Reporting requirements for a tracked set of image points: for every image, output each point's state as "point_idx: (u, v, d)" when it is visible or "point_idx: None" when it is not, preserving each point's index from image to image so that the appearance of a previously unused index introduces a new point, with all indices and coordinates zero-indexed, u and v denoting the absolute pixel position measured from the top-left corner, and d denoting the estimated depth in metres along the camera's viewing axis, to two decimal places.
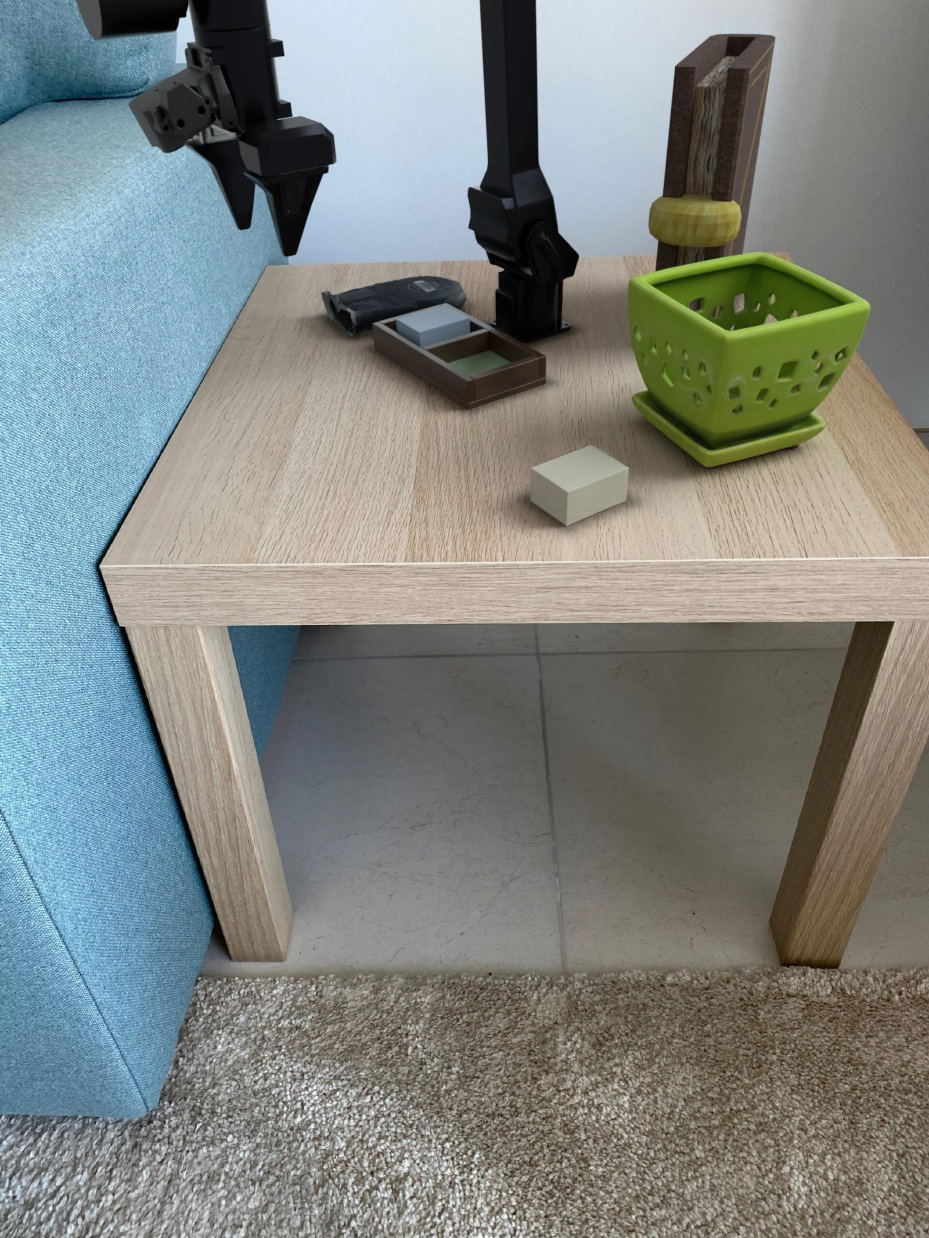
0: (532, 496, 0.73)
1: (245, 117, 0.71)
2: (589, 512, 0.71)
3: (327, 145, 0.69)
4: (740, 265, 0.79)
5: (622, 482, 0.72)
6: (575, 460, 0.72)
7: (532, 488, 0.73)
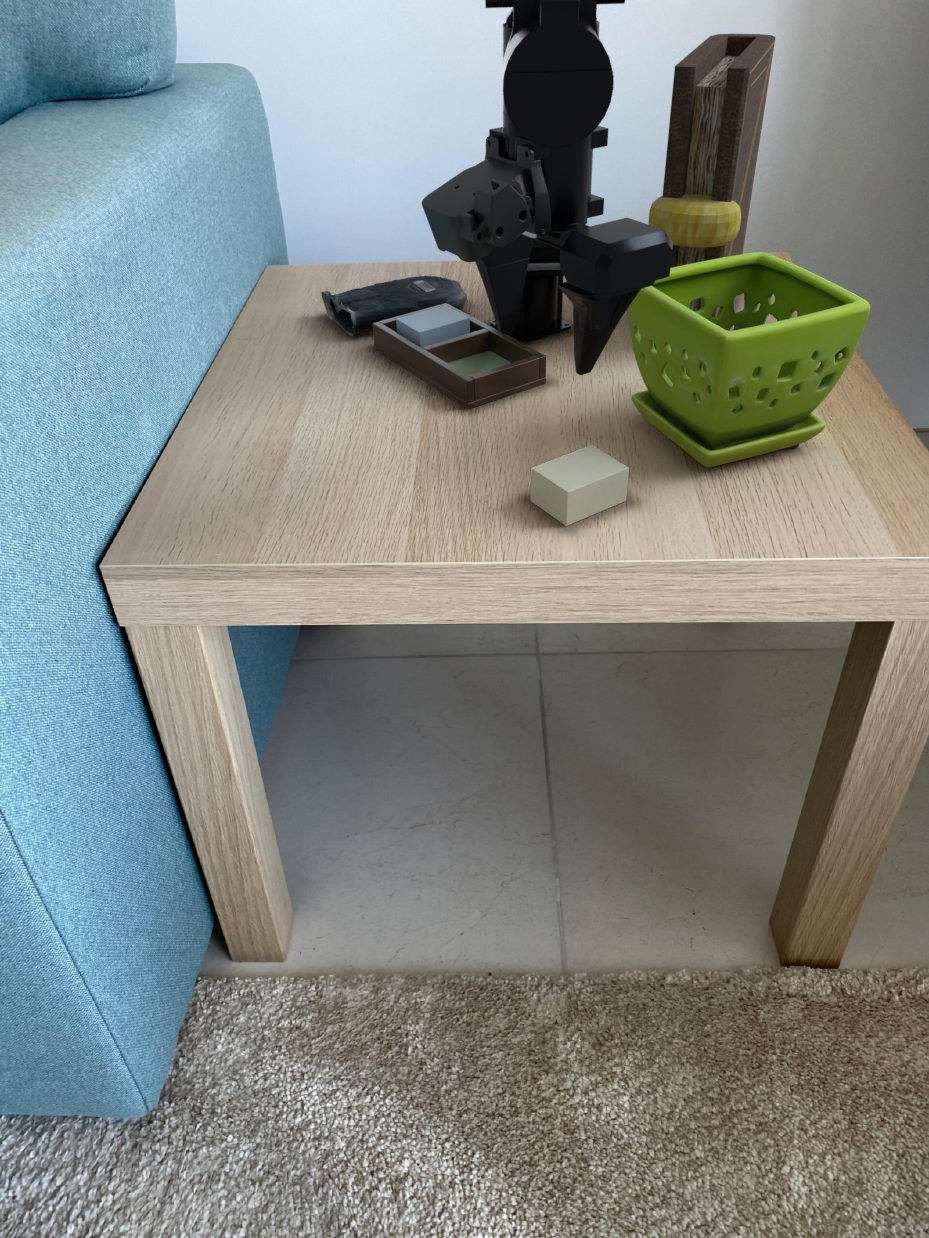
0: (532, 496, 0.73)
1: (557, 218, 0.59)
2: (589, 512, 0.71)
3: (667, 256, 0.57)
4: (740, 265, 0.79)
5: (622, 482, 0.72)
6: (575, 460, 0.72)
7: (532, 488, 0.73)
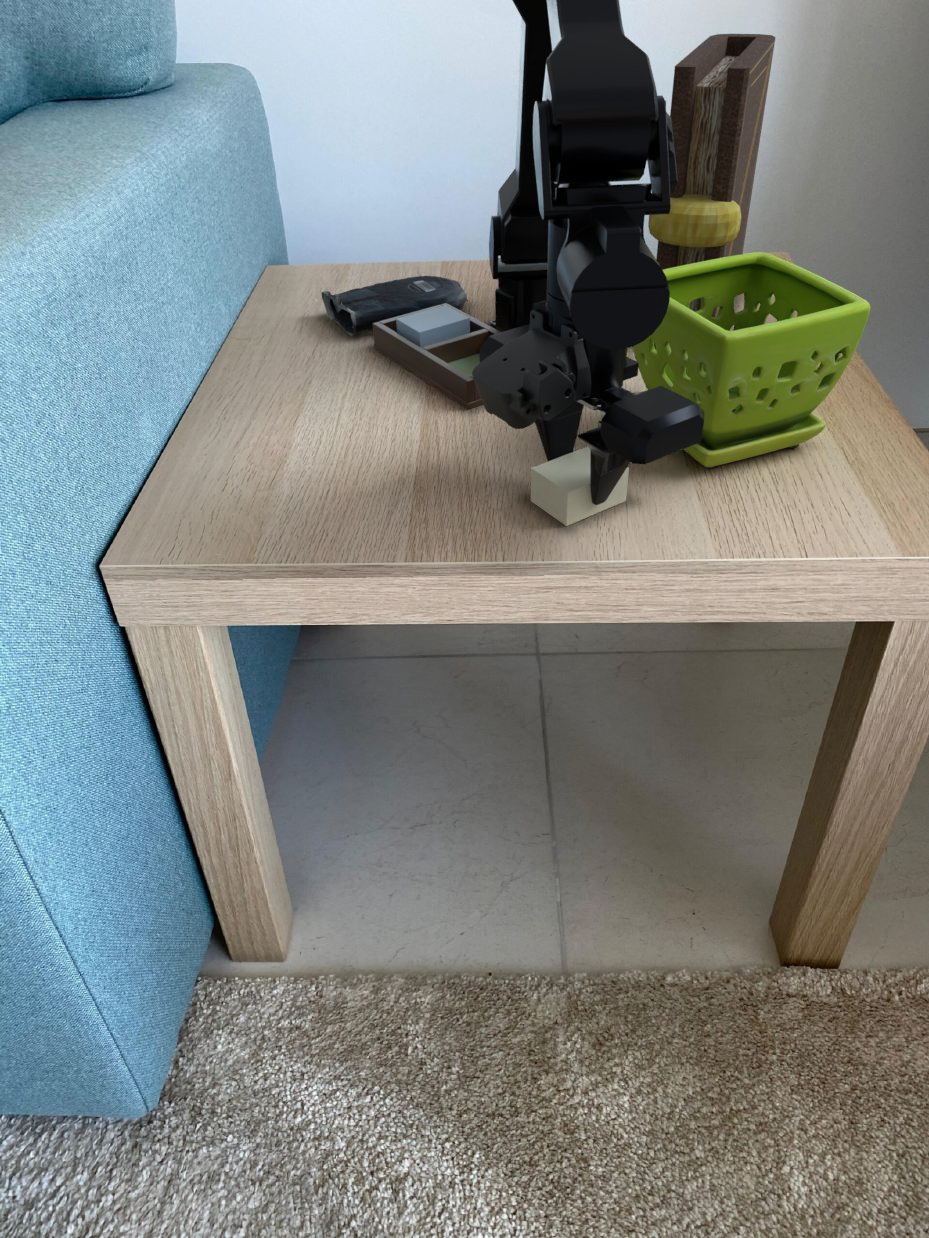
0: (532, 496, 0.73)
1: (596, 385, 0.64)
2: (589, 512, 0.71)
3: (699, 425, 0.62)
4: (740, 265, 0.79)
5: (622, 482, 0.72)
6: (575, 460, 0.72)
7: (532, 488, 0.73)
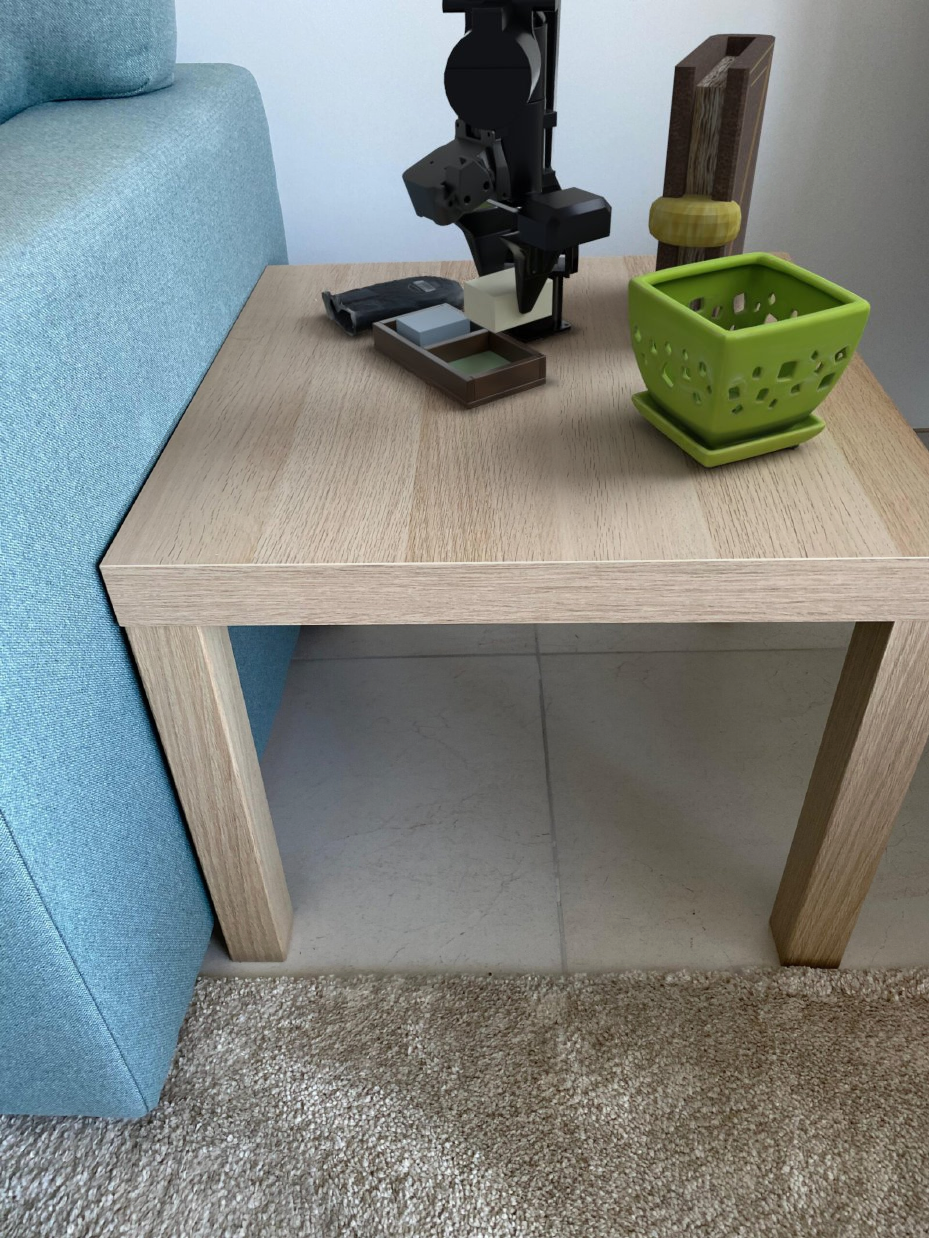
0: (465, 311, 0.79)
1: (516, 188, 0.71)
2: (516, 321, 0.78)
3: (607, 218, 0.69)
4: (740, 265, 0.79)
5: (547, 294, 0.78)
6: (504, 276, 0.79)
7: (465, 302, 0.79)
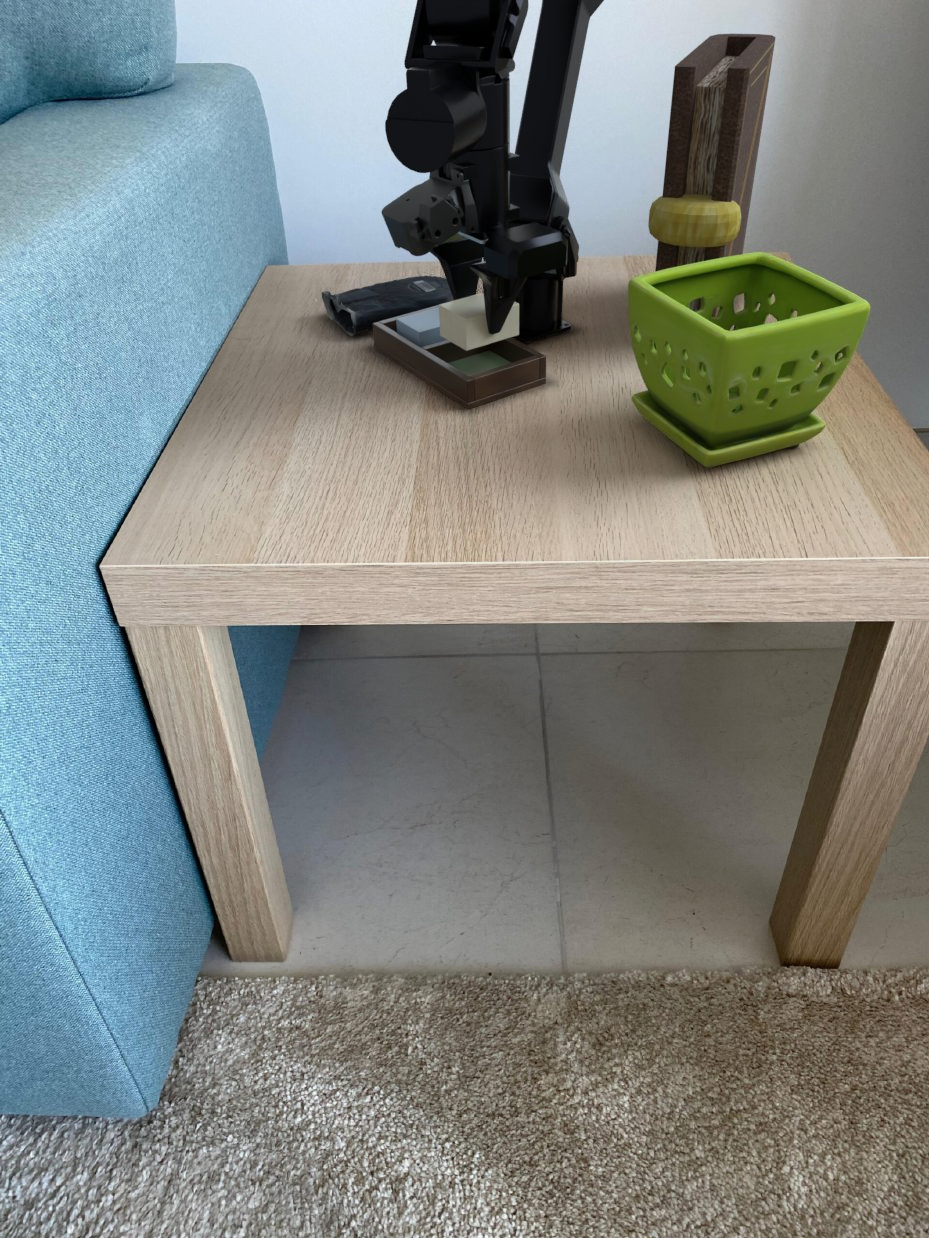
0: (441, 331, 0.88)
1: (483, 222, 0.79)
2: (486, 340, 0.86)
3: (563, 251, 0.77)
4: (740, 265, 0.79)
5: (514, 316, 0.87)
6: (476, 299, 0.87)
7: (440, 323, 0.87)
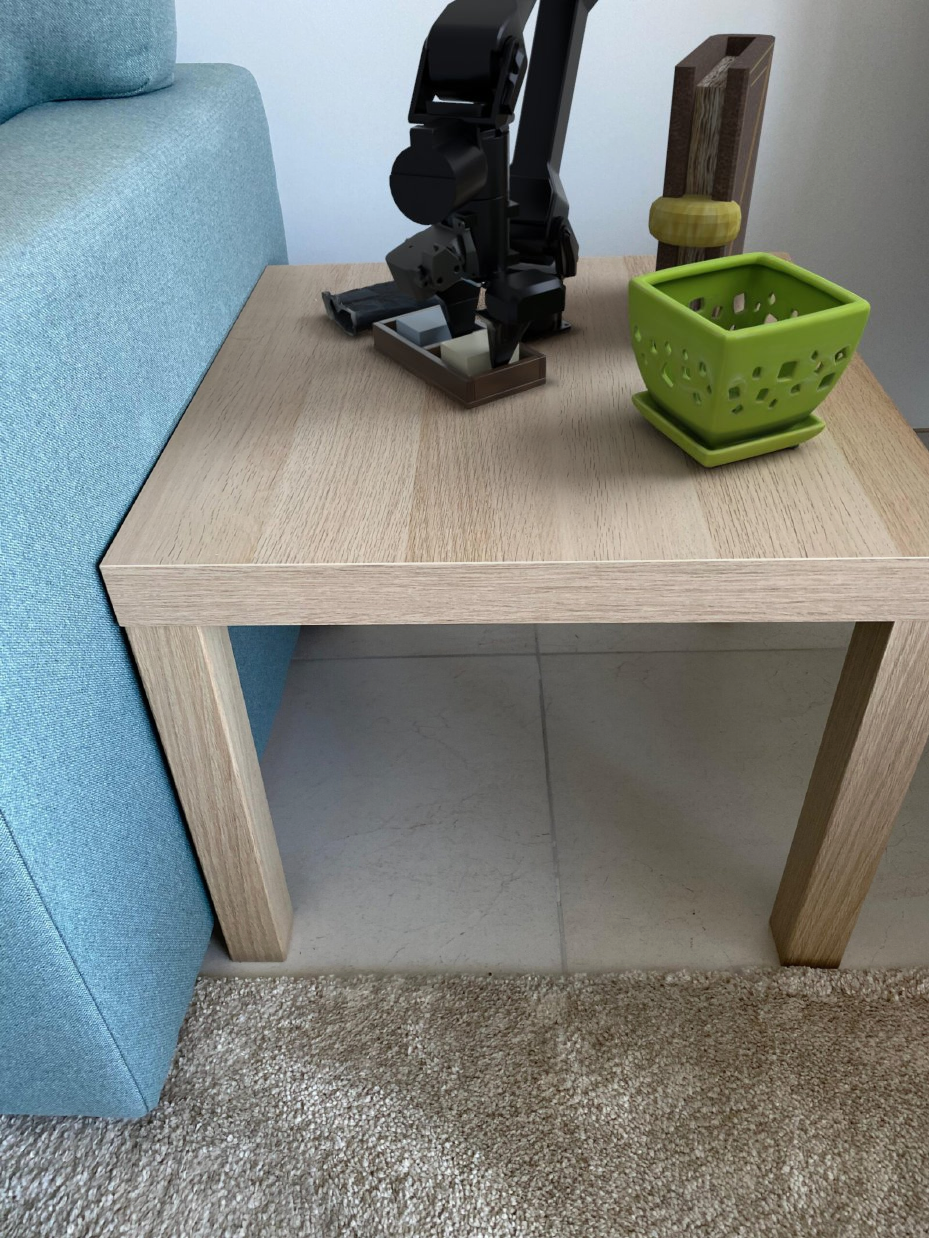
0: None
1: (484, 268, 0.81)
2: None
3: (561, 296, 0.79)
4: (740, 265, 0.79)
5: (514, 354, 0.89)
6: (477, 337, 0.89)
7: None
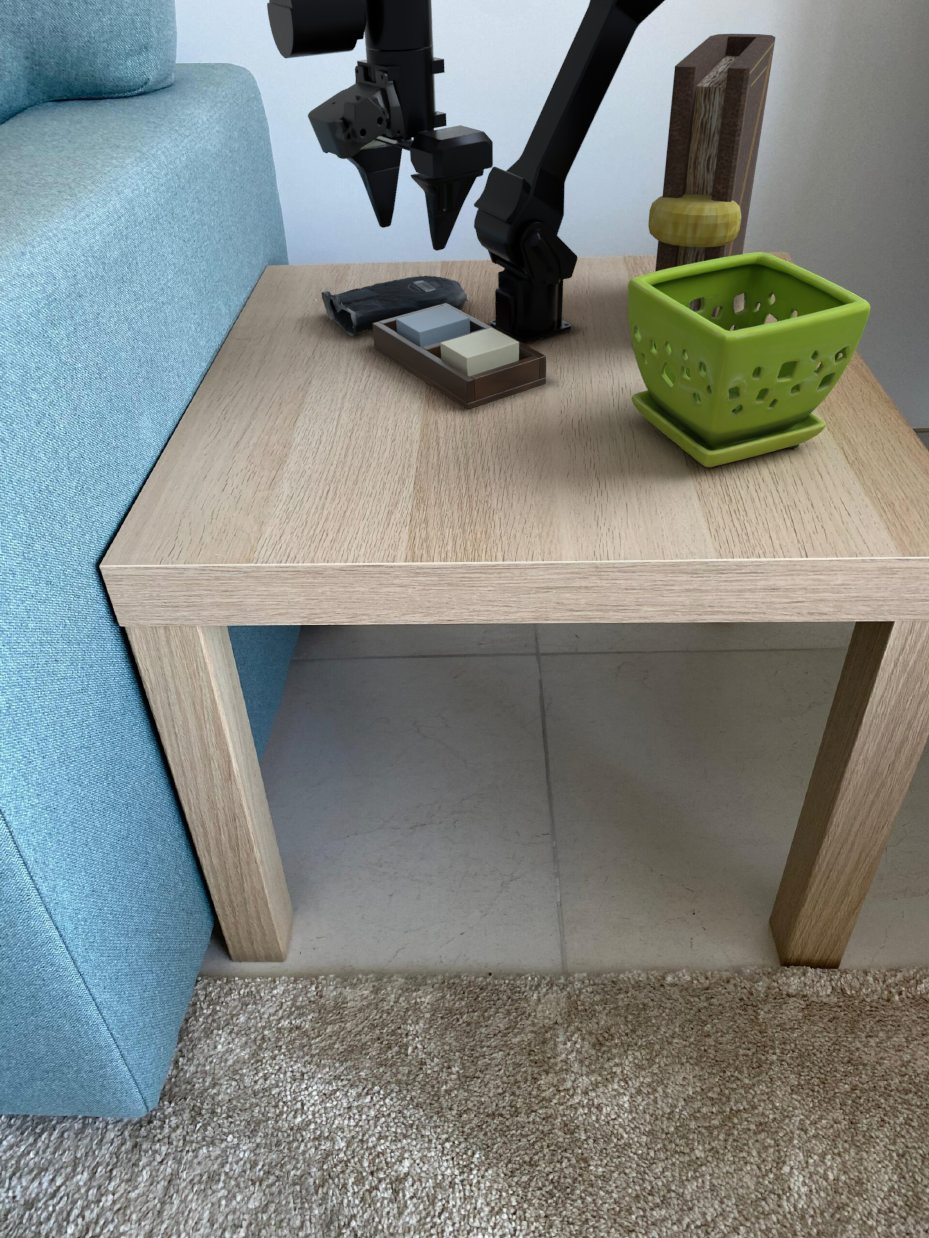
0: None
1: (409, 126, 0.80)
2: None
3: (488, 151, 0.78)
4: (740, 265, 0.79)
5: (514, 354, 0.89)
6: (477, 337, 0.89)
7: None
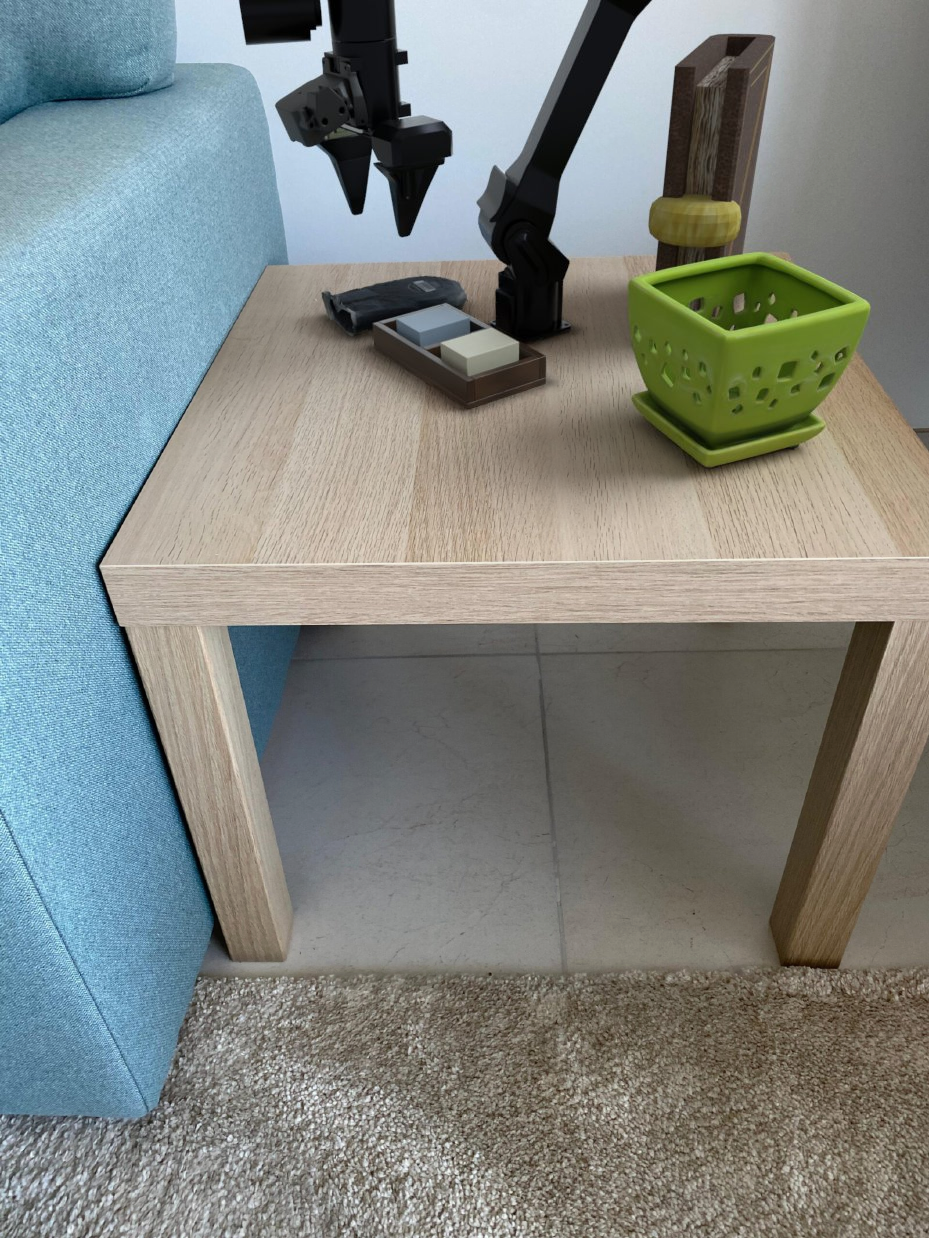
0: None
1: (373, 116, 0.82)
2: None
3: (447, 140, 0.80)
4: (740, 265, 0.79)
5: (514, 354, 0.89)
6: (477, 337, 0.89)
7: None
